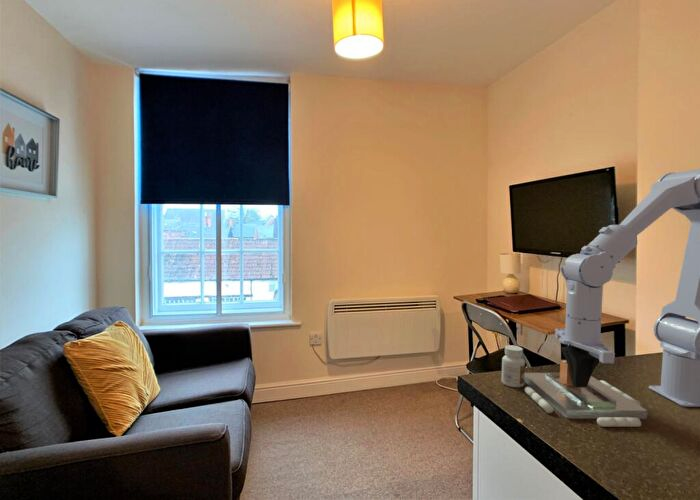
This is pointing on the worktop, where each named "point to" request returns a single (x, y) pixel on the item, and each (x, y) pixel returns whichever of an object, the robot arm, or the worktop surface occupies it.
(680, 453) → the worktop surface
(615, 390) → the cable near base
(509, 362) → the pill bottle
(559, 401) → the breaker panel
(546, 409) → the rod
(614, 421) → the rod
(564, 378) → the lever
